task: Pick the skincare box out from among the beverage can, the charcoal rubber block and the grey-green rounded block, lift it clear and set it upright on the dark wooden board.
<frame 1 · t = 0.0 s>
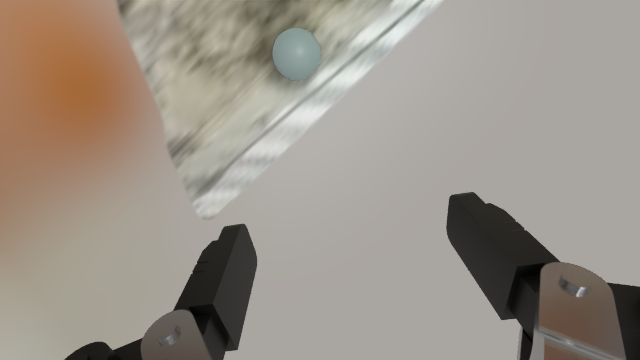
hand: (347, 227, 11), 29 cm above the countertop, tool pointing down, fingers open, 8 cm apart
grey-green rounded block: (299, 51, 34), on the countertop
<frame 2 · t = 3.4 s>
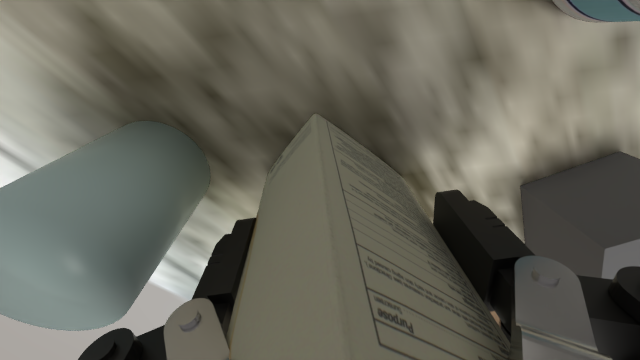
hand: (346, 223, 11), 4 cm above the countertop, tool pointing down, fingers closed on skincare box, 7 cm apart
skincare box: (338, 175, 14), on the countertop, touching gripper
rubber block: (566, 203, 16), on the countertop
grey-green rounded block: (160, 168, 14), on the countertop
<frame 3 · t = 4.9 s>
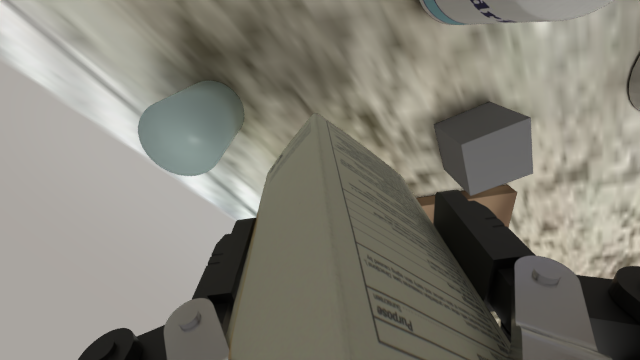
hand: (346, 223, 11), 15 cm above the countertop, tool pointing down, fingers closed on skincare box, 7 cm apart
skincare box: (338, 175, 14), point 10 cm above the countertop, touching gripper
wooden board: (435, 237, 31), on the countertop
rubber block: (464, 137, 25), on the countertop
grey-green rounded block: (214, 111, 23), on the countertop
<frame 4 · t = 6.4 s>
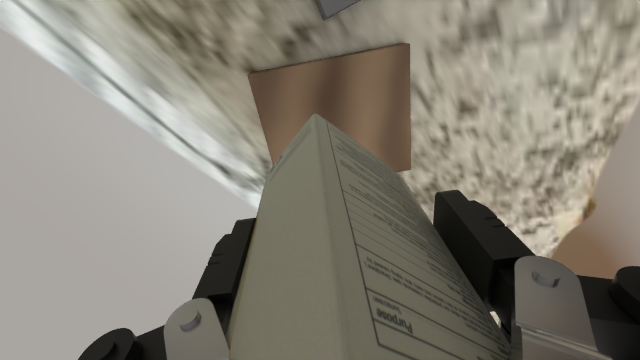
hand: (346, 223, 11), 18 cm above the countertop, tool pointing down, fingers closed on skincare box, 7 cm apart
skincare box: (338, 175, 14), point 14 cm above the countertop, touching gripper
wooden board: (335, 122, 27), on the countertop
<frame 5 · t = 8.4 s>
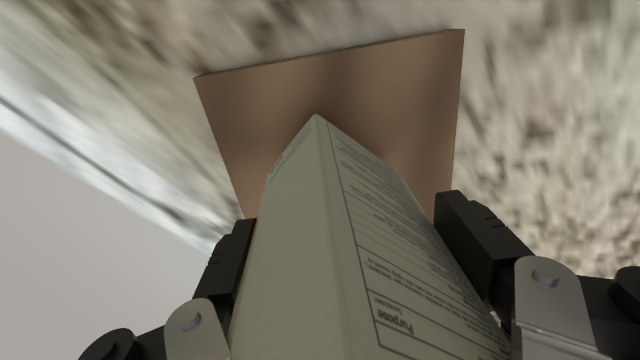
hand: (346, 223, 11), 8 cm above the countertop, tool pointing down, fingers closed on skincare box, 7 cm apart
skincare box: (338, 175, 14), point 4 cm above the countertop, touching gripper
wooden board: (337, 150, 18), on the countertop
when the fingers open (6 cm above the countertop, at t = 9.8 s): skincare box stays where it is, resting on wooden board.
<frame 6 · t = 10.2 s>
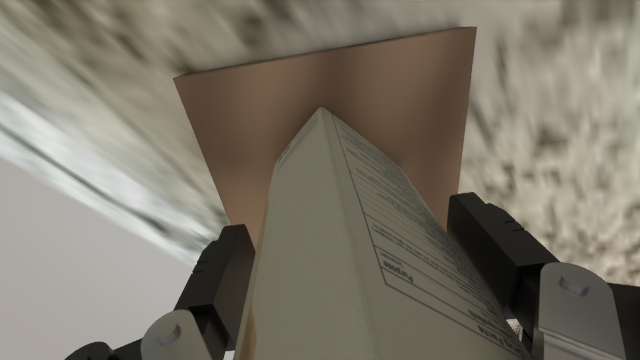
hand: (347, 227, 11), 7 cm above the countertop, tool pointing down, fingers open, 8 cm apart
skincare box: (341, 166, 15), point 1 cm above the countertop, touching wooden board
wooden board: (334, 158, 16), on the countertop
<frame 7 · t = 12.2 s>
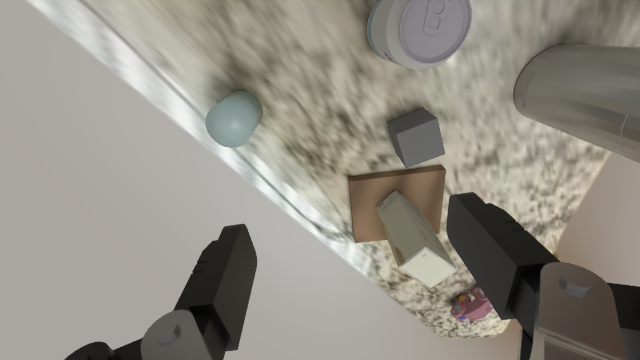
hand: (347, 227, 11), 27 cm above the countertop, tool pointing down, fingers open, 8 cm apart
skincare box: (398, 208, 42), point 1 cm above the countertop, touching wooden board
beverage can: (394, 27, 32), on the countertop
wooden board: (394, 203, 43), on the countertop
video game controller: (469, 291, 54), on the countertop
rubber block: (408, 131, 38), on the countertop
grey-green rounded block: (243, 110, 36), on the countertop
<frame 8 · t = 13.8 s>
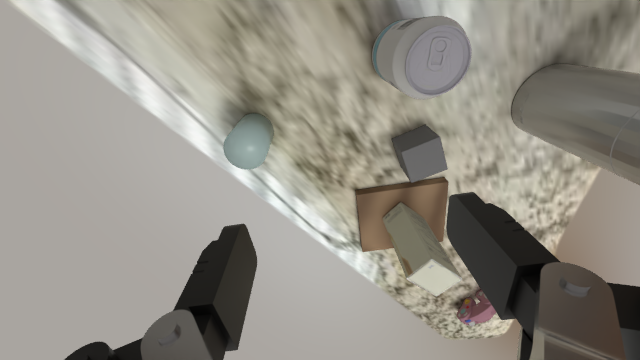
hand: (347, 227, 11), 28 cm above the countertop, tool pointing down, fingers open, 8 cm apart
skincare box: (403, 218, 44), point 1 cm above the countertop, touching wooden board
beverage can: (397, 52, 33), on the countertop
wooden board: (399, 214, 45), on the countertop
video game controller: (473, 294, 57), on the countertop
rubber block: (412, 146, 40), on the countertop
grey-green rounded block: (255, 131, 38), on the countertop
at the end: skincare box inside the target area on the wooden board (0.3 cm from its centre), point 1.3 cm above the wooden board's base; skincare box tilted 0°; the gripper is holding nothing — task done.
